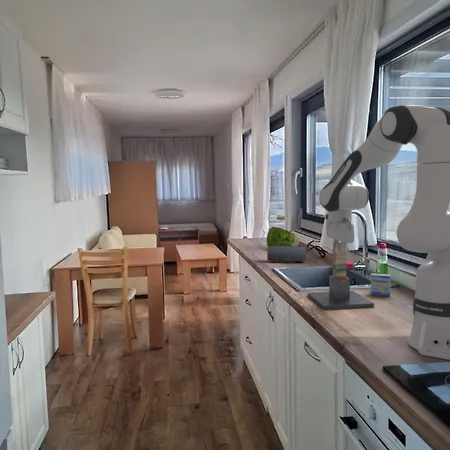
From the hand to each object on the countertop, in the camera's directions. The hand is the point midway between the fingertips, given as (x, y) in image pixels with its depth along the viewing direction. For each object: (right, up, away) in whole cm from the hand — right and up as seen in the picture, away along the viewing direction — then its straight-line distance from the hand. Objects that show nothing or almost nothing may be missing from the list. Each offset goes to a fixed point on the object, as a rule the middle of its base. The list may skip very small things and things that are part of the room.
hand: (339, 251), depth 171 cm
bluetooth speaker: (-9, -12, +89) cm, 90 cm away
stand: (0, -21, +2) cm, 21 cm away
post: (0, -13, +1) cm, 13 cm away
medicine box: (+20, -19, +12) cm, 31 cm away
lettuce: (-4, -8, +137) cm, 137 cm away
